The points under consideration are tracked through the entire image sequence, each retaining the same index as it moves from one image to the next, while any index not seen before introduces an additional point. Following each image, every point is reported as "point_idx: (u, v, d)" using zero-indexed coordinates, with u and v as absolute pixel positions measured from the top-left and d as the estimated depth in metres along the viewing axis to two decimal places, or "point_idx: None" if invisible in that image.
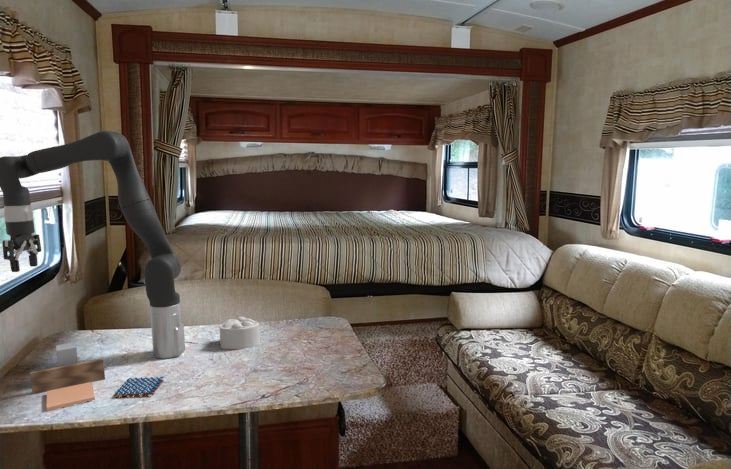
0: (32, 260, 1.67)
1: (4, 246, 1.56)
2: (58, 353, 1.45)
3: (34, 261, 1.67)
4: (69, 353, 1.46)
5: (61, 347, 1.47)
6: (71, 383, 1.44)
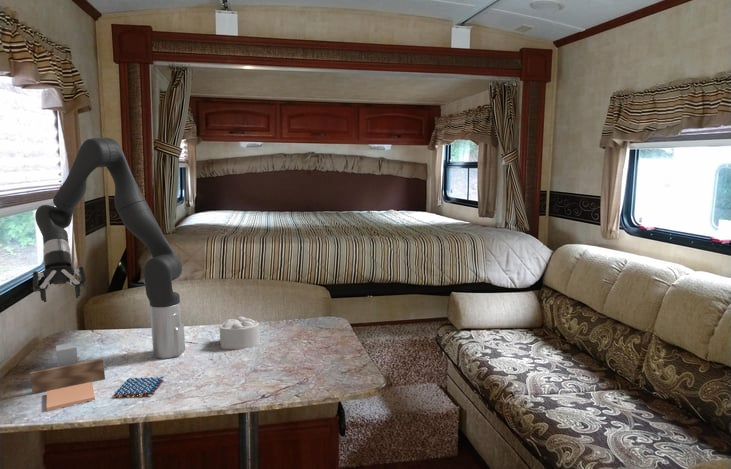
0: (75, 291, 1.59)
1: None
2: (58, 353, 1.45)
3: (75, 291, 1.58)
4: (69, 353, 1.46)
5: (61, 347, 1.47)
6: (71, 383, 1.44)
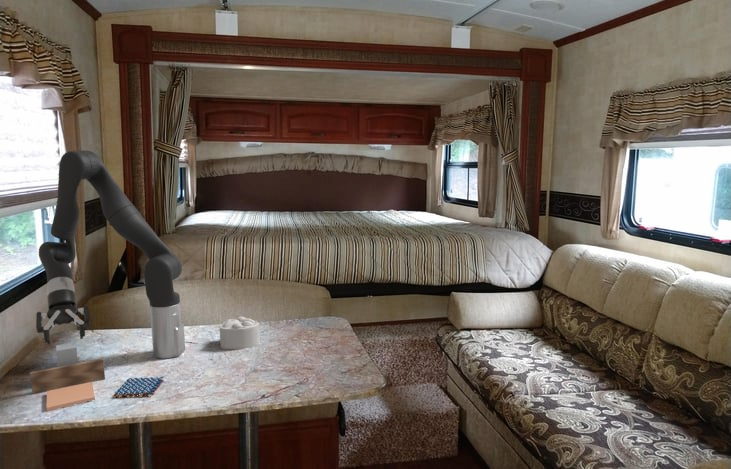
0: None
1: None
2: (58, 353, 1.45)
3: None
4: (69, 353, 1.46)
5: (61, 347, 1.47)
6: (71, 383, 1.44)
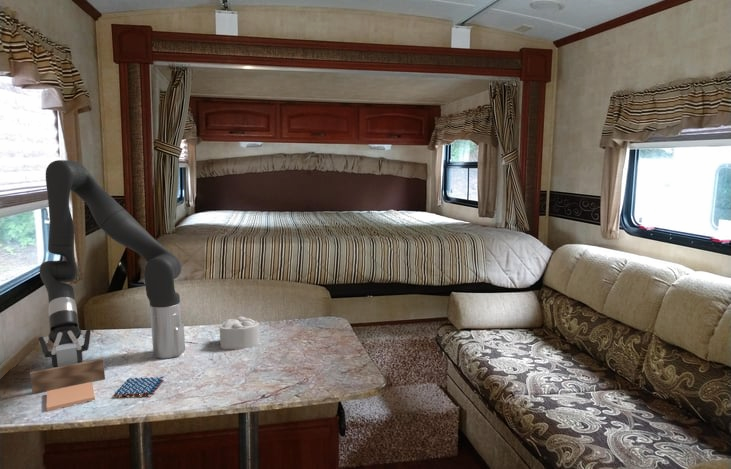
0: None
1: (40, 345, 1.48)
2: (58, 353, 1.45)
3: None
4: (69, 353, 1.46)
5: (61, 347, 1.47)
6: (71, 383, 1.44)
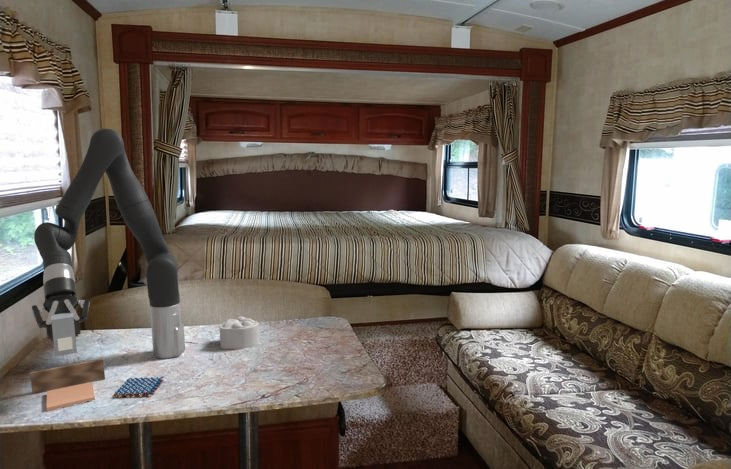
0: None
1: (34, 315, 1.34)
2: (53, 322, 1.31)
3: None
4: (66, 323, 1.33)
5: (57, 316, 1.33)
6: (71, 383, 1.44)
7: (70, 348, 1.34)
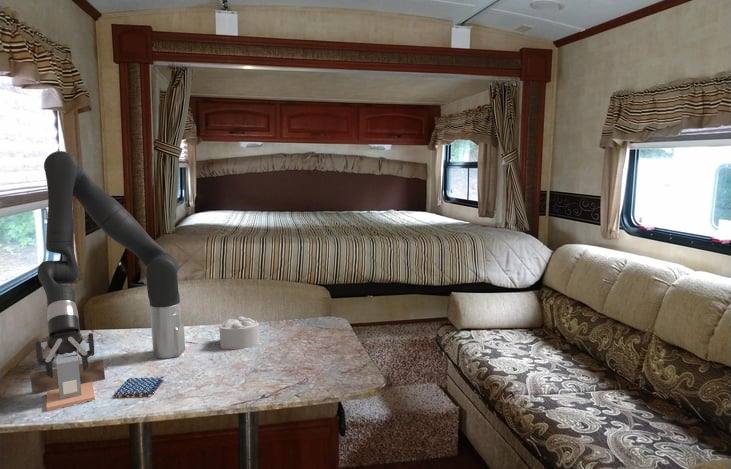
0: (82, 364, 1.38)
1: None
2: (58, 367, 1.33)
3: (82, 364, 1.37)
4: (71, 366, 1.34)
5: (62, 360, 1.35)
6: None
7: (75, 391, 1.36)
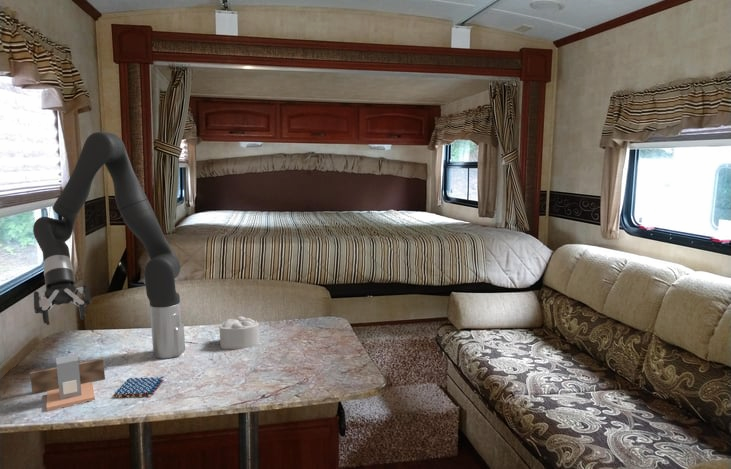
0: None
1: None
2: (58, 367, 1.33)
3: (80, 312, 1.48)
4: (71, 366, 1.34)
5: (62, 360, 1.35)
6: None
7: (75, 391, 1.36)
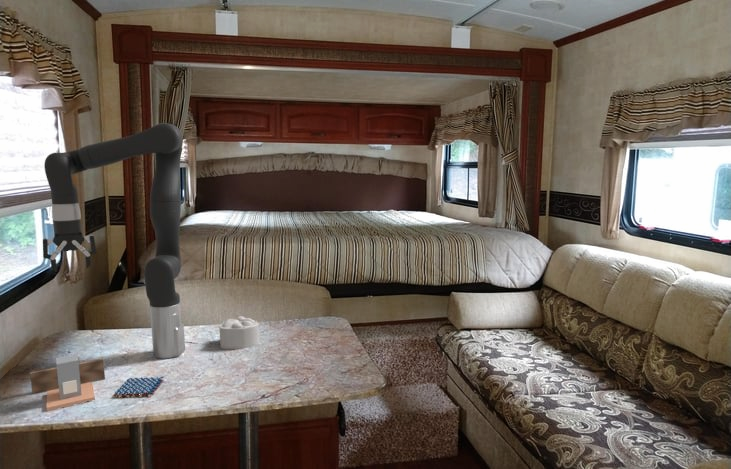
0: (85, 262, 1.59)
1: None
2: (58, 367, 1.33)
3: (85, 263, 1.59)
4: (71, 366, 1.34)
5: (62, 360, 1.35)
6: None
7: (75, 391, 1.36)
